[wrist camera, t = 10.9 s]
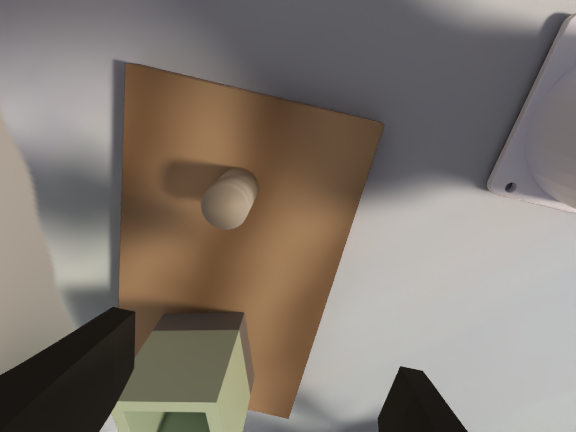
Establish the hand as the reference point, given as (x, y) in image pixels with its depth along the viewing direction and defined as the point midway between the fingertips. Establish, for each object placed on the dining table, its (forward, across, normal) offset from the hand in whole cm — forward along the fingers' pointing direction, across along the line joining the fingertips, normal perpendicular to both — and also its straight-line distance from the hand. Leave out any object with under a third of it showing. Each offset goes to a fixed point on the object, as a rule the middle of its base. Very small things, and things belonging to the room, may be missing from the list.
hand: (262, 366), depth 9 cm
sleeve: (+9, +3, +9) cm, 13 cm away
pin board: (+10, +3, +4) cm, 11 cm away
